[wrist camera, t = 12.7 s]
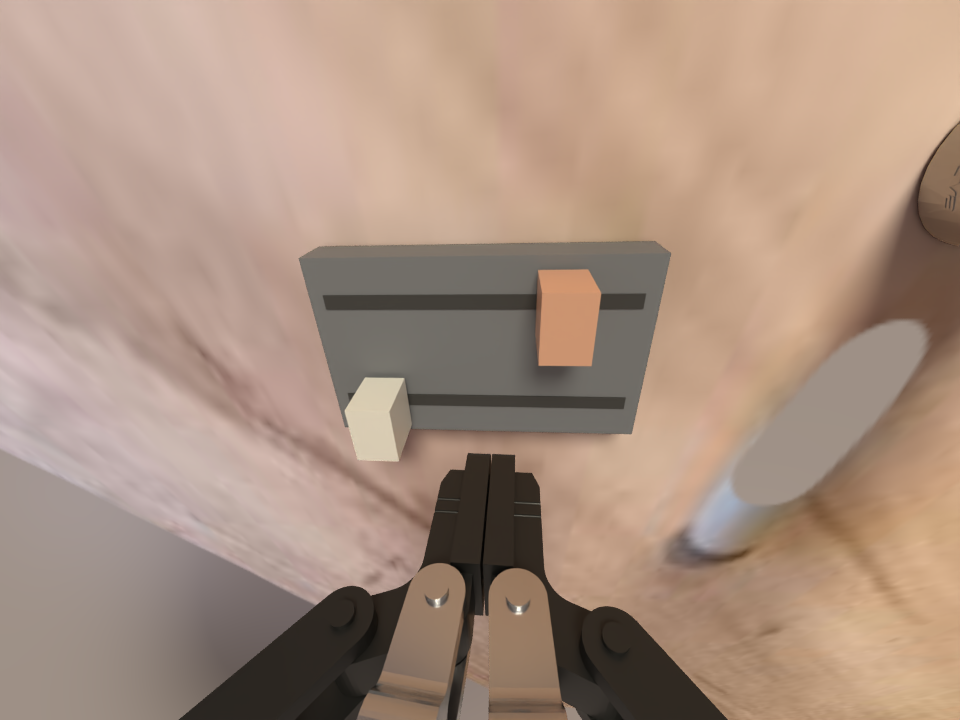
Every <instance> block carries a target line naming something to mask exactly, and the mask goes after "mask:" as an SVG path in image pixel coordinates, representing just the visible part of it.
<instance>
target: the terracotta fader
mask: <svg viewBox="0 0 960 720" xmlns="http://www.w3.org/2000/svg"><path fill="white" fill-rule="evenodd" d="M600 299H601V291H600V290H599V288H598V286H597V284H596V283H595V281H594V279H593V277H592V275H591V274H590V272H589V270H588V269H579V270H538V281H537V304H536V327H535V338H536V347H537V356H538V366H592V359H593V352H594V344H595V337H596V329H597V321H598V314H599V306H600Z"/></svg>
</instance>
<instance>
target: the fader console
mask: <svg viewBox="0 0 960 720" xmlns="http://www.w3.org/2000/svg"><path fill="white" fill-rule="evenodd" d="M670 256H671V253H670V252H669V251H668V250H666V249H665V248H663V247H662V246H661V245H659V244H658V243H657V242H655V241H633V242H571V243H510V244H448V245H387V246H325V247H318V248H316V249H314V250H312V251H311V252H309V253H307V254H305V255H304V256H302V257H300V258H299V261H300V265H301V269H302V272H303V276H304V279H305V283H306V287H307V290H308V294H309V298H310V301H311V305H312V309H313V312H314V316H315V319H316V323H317V327H318V330H319V334H320V338H321V341H322V345H323V348H324V352H325V356H326V359H327V363H328V367H329V370H330V374H331V378H332V381H333V385H334V388H335V392H336V396H337V399H338V403H339V407H340V410H341V414H342V417H343V421H344V425H345V427H349V426H348V423H347V419H346V415H345V409H346V407H347V406H348V404H349V403H350V401H351V399H352V398H353V396H354V394H355V393H356V391H357V390H358V388H359V386H360V385H361V383H362V381H363V380H364V378H365V377H367V378H405V384H406V390H407V396H408V403H409V409H410V415H411V421H412V426H411V429H439V430H480V431H521V432H562V433H602V434H632V430H633V425H634V421H635V416H636V412H637V407H638V403H639V398H640V393H641V389H642V384H643V380H644V375H645V371H646V366H647V361H648V357H649V352H650V348H651V343H652V338H653V334H654V329H655V325H656V320H657V316H658V311H659V306H660V302H661V297H662V293H663V288H664V284H665V279H666V274H667V270H668V265H669V261H670ZM579 269H588V270H589V272H590V274H591V275H592V277H593V279H594V281H595V283H596V284H597V286H598V288H599V290H600V291H601V299H600V306H599V314H598V321H597V329H596V337H595V344H594V352H593V359H592V366H538V356H537V347H536V338H535V327H536V304H537V281H538V270H579Z"/></svg>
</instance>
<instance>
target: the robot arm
mask: <svg viewBox="0 0 960 720" xmlns="http://www.w3.org/2000/svg"><path fill="white" fill-rule="evenodd" d="M918 208H919V216H920V219H921V221H922V223H923V226H924V228H925V229H926V230H927V231H928V232H929V233H930V234H931V235H932V236H933V237H935V238H937V239H939V240H941V241H943V242H945V243H948V244H952V245H956V246H960V123H959V124H958V125H957V126H956V127H955V128H954V130H953V131H952V132H951V133H950V135H949V136H948V137H947V138H946V139H945V141H944V142H943V143H942V144H941V146H940V147H939V149H938V150H937V152H936V154H935V155H934V157H933V159H932V160H931V162H930V164H929V165H928V168H927V170H926V173H925V175H924V178H923V180H922V183H921V186H920V192H919V198H918ZM484 596H485V614H486V616H489V719H488V720H568V719H567V715H566V711H565V707H564V706H563V703H562V701H564V702H565V703H567V704H569V705H571V706H573V707H575V708H576V710H577V712H578V714H579V715H580V717H581V718H582V720H728V719H727V718H726V717H725V716H724V715H723V714H722V713H721V712H720V711H719V710H718V709H717V708H716V707H715V705H714V704H713V703H712V702H711V701H710V700H709V699H708V698H707V697H706V696H705V695H704V694H703V692H702V691H701V690H700V689H699V688H698V687H697V686H696V685H695V684H694V683H693V682H692V681H691V679H690V678H689V677H688V676H687V675H686V674H685V673H684V672H683V671H682V670H681V669H680V668H679V667H678V665H677V664H676V663H675V662H674V661H673V660H672V659H671V658H670V657H669V656H668V655H667V654H666V652H665V651H664V650H663V649H662V648H661V647H660V646H659V645H658V644H657V643H656V642H655V641H654V639H653V638H652V637H651V636H650V635H649V634H648V633H647V632H646V631H645V630H644V629H643V628H642V627H641V625H640V624H639V623H638V622H637V621H636V620H635V619H634V618H633V617H632V616H630V615H629V614H628V613H626V612H624V611H622V610H620V609H618V608H615V607H608V606H604V607H599V608H596V609H594V610H593V611H589V610H587V609H585V608H582V607H580V606H578V605H575V604H573V603H571V602H569V601H567V600H565V599H564V598H562V597H561V596H560V595H558V594H557V593H556V592H555V591H554V589H553V588H552V587H551V585H550V584H549V582H548V580H547V578H546V575H545V571H544V559H543V541H542V523H541V505H540V488H539V485H538V483H537V481H536V480H535V478H534V476H533V474H532V473H519V472H515V455H501V454H492V463H491V454H473V453H468V455H467V460H466V466H465V470H450V471H449V473H448V474H447V475H446V477H445V478H444V479H443V481H442V482H441V485H440V490H439V494H438V500H437V503H436V507H435V513H434V516H433V521H432V525H431V530H430V534H429V538H428V543H427V547H426V552H425V556H424V560H423V563H422V566H421V568H420V570H419V571H418V573H417V574H416V575H415V576H414V577H413V578H412V579H411V580H410V581H409V582H408V583H406V584H405V585H403V586H401V587H399V588H396V589H394V590H390V591H386V592H383V593H379V594H376V595H372V596H370V594H369V593H368V592H367V591H366V590H364V589H363V588H360V587H357V586H347V587H343V588H340V589H338V590H336V591H334V592H333V593H331V594H330V595H328V596H327V597H326V598H325V599H324V600H322V601H321V602H320V603H319V604H318V605H316V606H315V607H314V608H313V609H312V610H310V611H309V612H308V613H307V614H306V615H304V616H303V617H302V618H301V619H300V620H298V621H297V622H296V623H295V624H293V625H292V626H291V627H290V628H289V629H288V630H286V631H285V632H284V633H283V634H282V635H280V636H279V637H278V638H277V639H275V640H274V641H273V642H272V643H271V644H269V645H268V646H267V647H266V648H265V649H263V650H262V651H261V652H260V653H259V654H257V655H256V656H255V657H254V658H253V659H251V660H250V661H249V662H248V663H247V664H245V665H244V666H243V667H242V668H241V669H239V670H238V671H237V672H236V673H234V674H233V675H232V676H231V677H230V678H228V679H227V680H226V681H225V682H224V683H223V684H221V685H220V686H219V687H218V688H216V689H215V690H214V691H213V692H212V693H210V694H209V695H208V696H207V697H206V698H205V699H203V700H202V701H201V702H200V703H198V704H197V705H196V706H195V707H194V708H192V709H191V710H190V711H189V712H188V713H186V714H185V715H184V716H183V717H181V718H180V719H179V720H459V719H460V712H461V707H462V700H463V694H464V688H465V682H466V675H467V669H468V663H469V657H470V650H471V643H472V636H473V626H474V615H483V610H484Z"/></svg>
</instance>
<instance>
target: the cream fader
mask: <svg viewBox="0 0 960 720" xmlns="http://www.w3.org/2000/svg"><path fill="white" fill-rule="evenodd" d="M345 415H346V419H347V423H348V426H349V430H350V434H351V437H352V441H353V445H354V449H355V452H356V456H357V460H369V461H399V460H400V457H401V454H402V451H403V449H404V446H405V443H406V440H407V437H408V434H409V431H410V429H411V426H412V421H411V415H410V409H409V403H408V396H407V390H406V384H405V378H367V377H365V378H364V380H363V381H362V383H361V385H360V386H359V388H358V390H357V391H356V393H355V394H354V396H353V398H352V399H351V401H350V403H349V404H348V406H347V407H346V409H345Z"/></svg>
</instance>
